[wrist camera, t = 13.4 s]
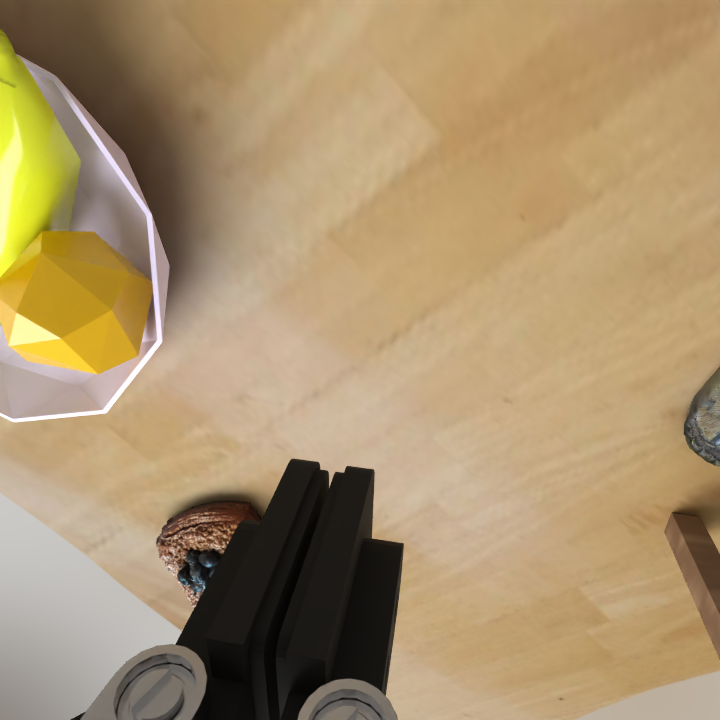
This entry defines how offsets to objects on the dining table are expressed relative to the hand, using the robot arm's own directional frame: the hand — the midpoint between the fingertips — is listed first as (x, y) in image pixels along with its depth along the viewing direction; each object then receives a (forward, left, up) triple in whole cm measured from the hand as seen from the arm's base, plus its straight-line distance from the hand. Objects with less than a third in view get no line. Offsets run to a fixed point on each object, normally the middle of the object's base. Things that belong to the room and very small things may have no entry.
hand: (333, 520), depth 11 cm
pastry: (+32, -16, -28) cm, 46 cm away
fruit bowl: (+2, -28, -27) cm, 39 cm away
